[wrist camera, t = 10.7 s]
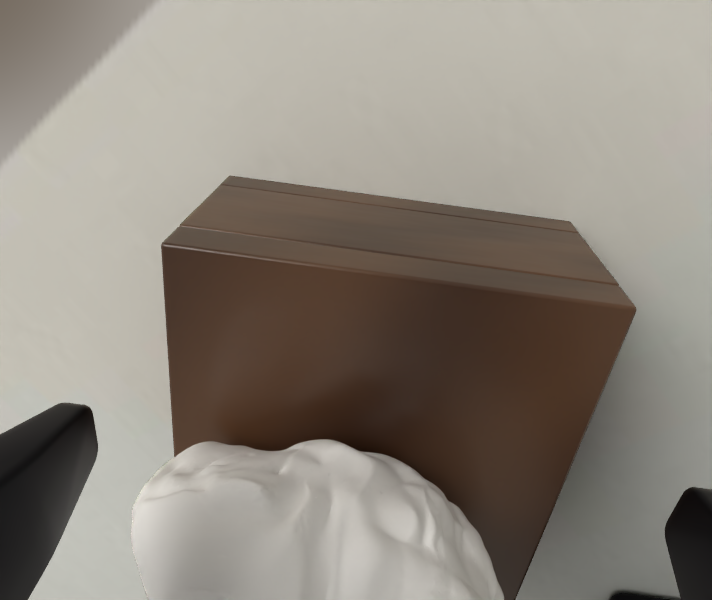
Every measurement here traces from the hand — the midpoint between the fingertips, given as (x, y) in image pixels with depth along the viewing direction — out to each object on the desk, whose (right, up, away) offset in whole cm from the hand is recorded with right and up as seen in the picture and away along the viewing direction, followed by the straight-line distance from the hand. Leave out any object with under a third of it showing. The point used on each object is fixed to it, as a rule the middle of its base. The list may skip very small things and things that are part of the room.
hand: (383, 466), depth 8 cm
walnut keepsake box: (0, -1, +13) cm, 13 cm away
